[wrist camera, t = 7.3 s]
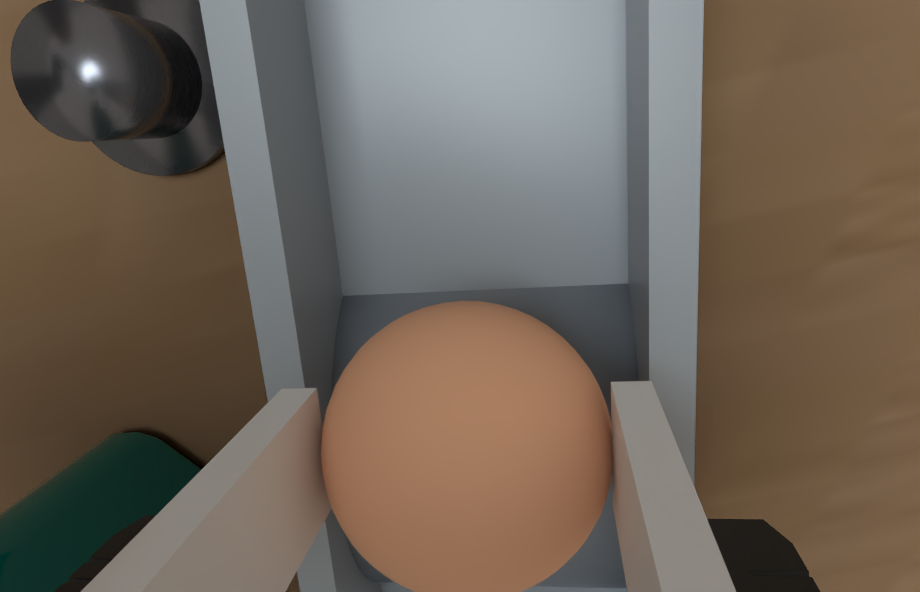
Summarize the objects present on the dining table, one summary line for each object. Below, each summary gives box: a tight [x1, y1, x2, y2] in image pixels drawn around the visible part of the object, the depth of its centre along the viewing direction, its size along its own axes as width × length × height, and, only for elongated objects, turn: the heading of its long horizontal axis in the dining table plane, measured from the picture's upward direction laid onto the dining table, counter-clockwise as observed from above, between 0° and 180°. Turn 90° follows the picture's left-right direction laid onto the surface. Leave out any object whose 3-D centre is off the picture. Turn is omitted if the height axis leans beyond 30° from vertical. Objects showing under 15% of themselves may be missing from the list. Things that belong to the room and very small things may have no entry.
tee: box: [11, 0, 225, 175], centre depth 19 cm, size 6×6×4 cm
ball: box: [321, 301, 613, 592], centre depth 13 cm, size 6×6×6 cm
